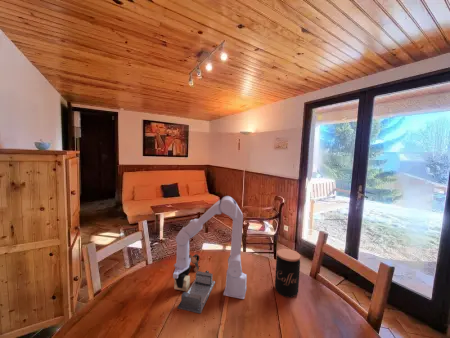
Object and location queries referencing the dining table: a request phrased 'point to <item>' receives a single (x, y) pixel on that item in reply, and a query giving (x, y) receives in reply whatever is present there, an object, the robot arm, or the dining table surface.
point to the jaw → (204, 277)
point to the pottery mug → (195, 261)
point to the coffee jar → (287, 272)
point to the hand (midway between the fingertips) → (182, 284)
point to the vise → (195, 297)
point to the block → (185, 284)
